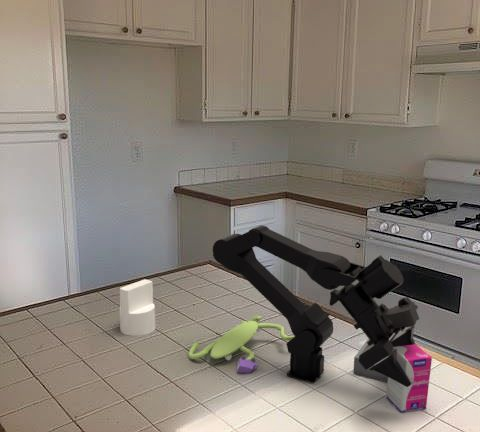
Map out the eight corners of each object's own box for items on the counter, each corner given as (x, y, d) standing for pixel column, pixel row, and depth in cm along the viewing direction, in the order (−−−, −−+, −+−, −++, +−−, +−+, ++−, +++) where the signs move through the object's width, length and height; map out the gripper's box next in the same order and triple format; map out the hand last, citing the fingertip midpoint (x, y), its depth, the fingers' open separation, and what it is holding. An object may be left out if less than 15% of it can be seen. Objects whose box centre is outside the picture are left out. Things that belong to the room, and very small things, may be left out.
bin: (353, 373, 120) (354, 357, 119) (368, 352, 129) (369, 336, 129) (407, 387, 114) (408, 370, 113) (418, 364, 124) (419, 348, 123)
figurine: (312, 347, 133) (313, 325, 132) (233, 386, 115) (234, 362, 113) (258, 323, 146) (259, 304, 145) (179, 356, 128) (179, 334, 126)
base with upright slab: (136, 339, 135) (135, 293, 133) (113, 329, 141) (111, 285, 138) (162, 327, 142) (161, 283, 140) (139, 318, 148) (137, 276, 145)
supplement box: (401, 414, 105) (405, 360, 102) (385, 397, 110) (389, 346, 108) (427, 409, 106) (432, 356, 104) (410, 394, 112) (415, 342, 109)
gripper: (379, 304, 97) (437, 377, 94) (407, 275, 113) (458, 337, 109) (336, 334, 103) (389, 404, 100) (368, 303, 119) (416, 362, 115)
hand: (415, 375), depth 106 cm, fingers open, 9 cm apart
